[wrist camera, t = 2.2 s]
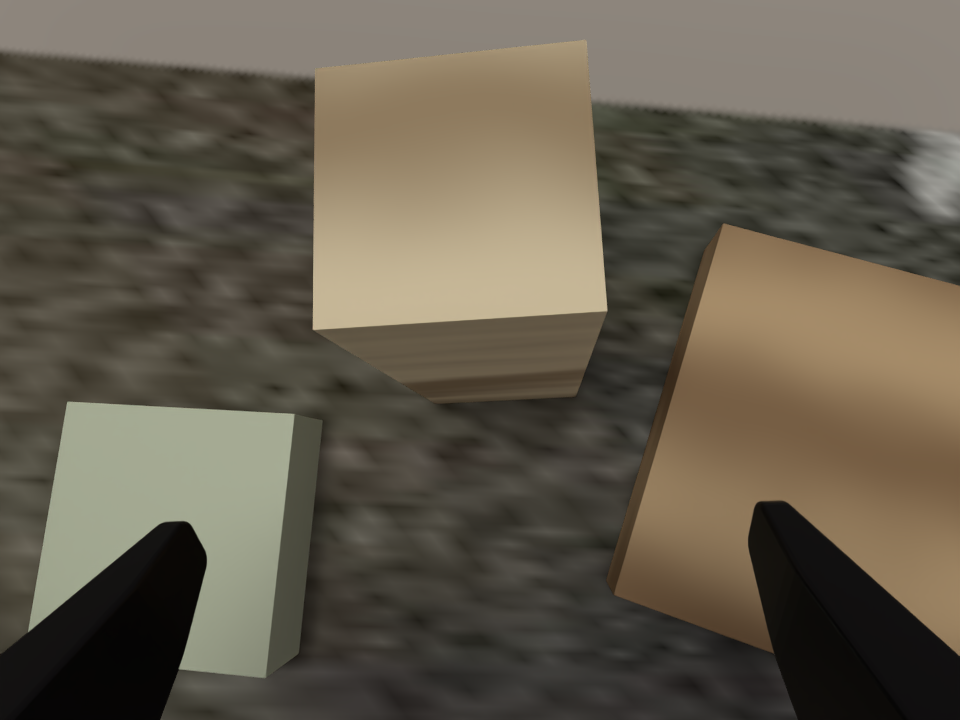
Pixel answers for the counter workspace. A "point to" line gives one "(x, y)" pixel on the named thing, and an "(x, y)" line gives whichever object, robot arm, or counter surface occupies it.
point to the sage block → (192, 518)
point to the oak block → (801, 434)
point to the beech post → (461, 221)
